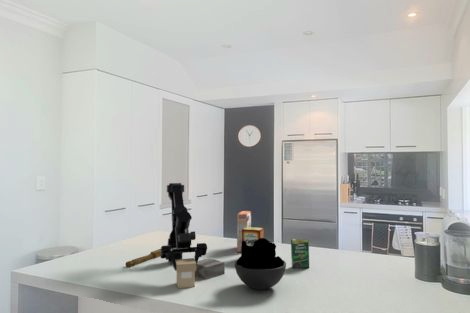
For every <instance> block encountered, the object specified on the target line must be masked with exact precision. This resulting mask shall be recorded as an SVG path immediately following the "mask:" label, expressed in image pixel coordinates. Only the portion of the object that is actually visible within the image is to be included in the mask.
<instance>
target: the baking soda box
mask: <svg viewBox="0 0 470 313" xmlns="http://www.w3.org/2000/svg"><path fill="white" fill-rule="evenodd" d="M260 238H265V229H264V227H257V226H256V227H252V226H251V227H245V228H243V229H242V241H243V240H244V241H245V242H246V245H248V246H253V244H254V241H257V240H258V239H260Z"/></svg>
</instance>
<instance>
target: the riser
mask: <svg viewBox="0 0 470 313" xmlns="http://www.w3.org/2000/svg"><path fill="white" fill-rule="evenodd" d="M225 263H226V262H224V261H221V260H218V259H215V258H211V257H210V258H209V257H208V258H204V259H202V260H198V262H197V267H196V271H195V276H197V277H201V278H203V279H205V280H210V279H212V278H215V277H218V276H221V275H222V276H223V275H225V273H226V272H225V271H226V270H225V269H226V268H225V266H226V265H225Z"/></svg>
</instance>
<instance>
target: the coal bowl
mask: <svg viewBox="0 0 470 313" xmlns="http://www.w3.org/2000/svg"><path fill="white" fill-rule="evenodd" d="M276 249H277V244H276V243H274V242H271V241H270V240H268V239H266V238H265V237H264V238H260V239H258V240H257V241H254V244H253V246H248V245H246V242H245V241H244V240H243V241H242V247H241V252H240V254H241V255H240V256H239V257H238V258H237V259H236V260H235V261H234V269H235V272H236V274H237V277H238V278H239V280H240V281H241V282H242V283H243V284H244V285H246V286H247V287H249V288H251V289H254V290H259V291H260V290H262V291H263V290H267V289H270V288H273V287H275V286H276V285H277V284H278V283H279V282H280V281H281V280H282V279H283V276H284V275H285V272H286V268H287V262H286V261H285V260H283V259H282V257H280V256H276V255H277V253H276Z"/></svg>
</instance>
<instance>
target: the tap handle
mask: <svg viewBox="0 0 470 313" xmlns="http://www.w3.org/2000/svg"><path fill="white" fill-rule="evenodd" d="M157 258H161V248H159V249H156V250H154V251H150V253H149V254H146V255H144V256H140V257H138V258H134V259H132V260H129V261H126V262H125V267H126V268H131V267H134V266H137V265H139V264H141V263H144V262H147V261H149V260H152V259H157Z"/></svg>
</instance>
